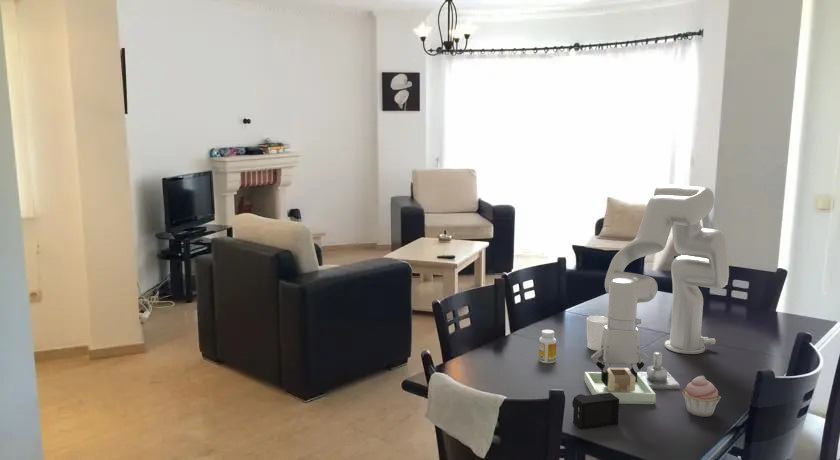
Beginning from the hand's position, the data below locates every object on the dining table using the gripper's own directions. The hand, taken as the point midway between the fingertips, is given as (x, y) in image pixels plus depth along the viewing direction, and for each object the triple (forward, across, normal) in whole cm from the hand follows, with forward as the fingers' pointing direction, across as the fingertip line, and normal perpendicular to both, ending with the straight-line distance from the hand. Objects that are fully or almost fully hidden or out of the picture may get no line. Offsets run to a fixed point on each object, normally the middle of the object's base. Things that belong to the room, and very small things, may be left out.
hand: (618, 383), depth 185 cm
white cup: (+3, -3, -37) cm, 38 cm away
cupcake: (+3, -18, +13) cm, 22 cm away
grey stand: (+2, -13, -7) cm, 15 cm away
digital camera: (+3, +11, +20) cm, 23 cm away
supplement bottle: (+3, +16, -24) cm, 29 cm away
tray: (+2, 0, 0) cm, 2 cm away
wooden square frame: (+1, 0, 0) cm, 1 cm away
